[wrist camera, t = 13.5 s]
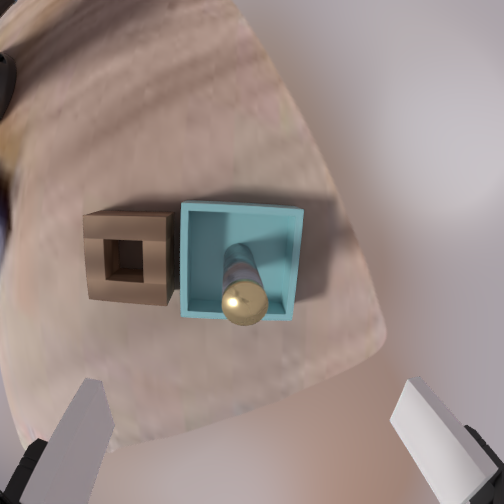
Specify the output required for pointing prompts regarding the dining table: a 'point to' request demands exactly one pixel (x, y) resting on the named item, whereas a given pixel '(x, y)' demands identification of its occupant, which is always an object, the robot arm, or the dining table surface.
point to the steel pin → (242, 287)
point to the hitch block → (107, 256)
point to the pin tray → (243, 232)
